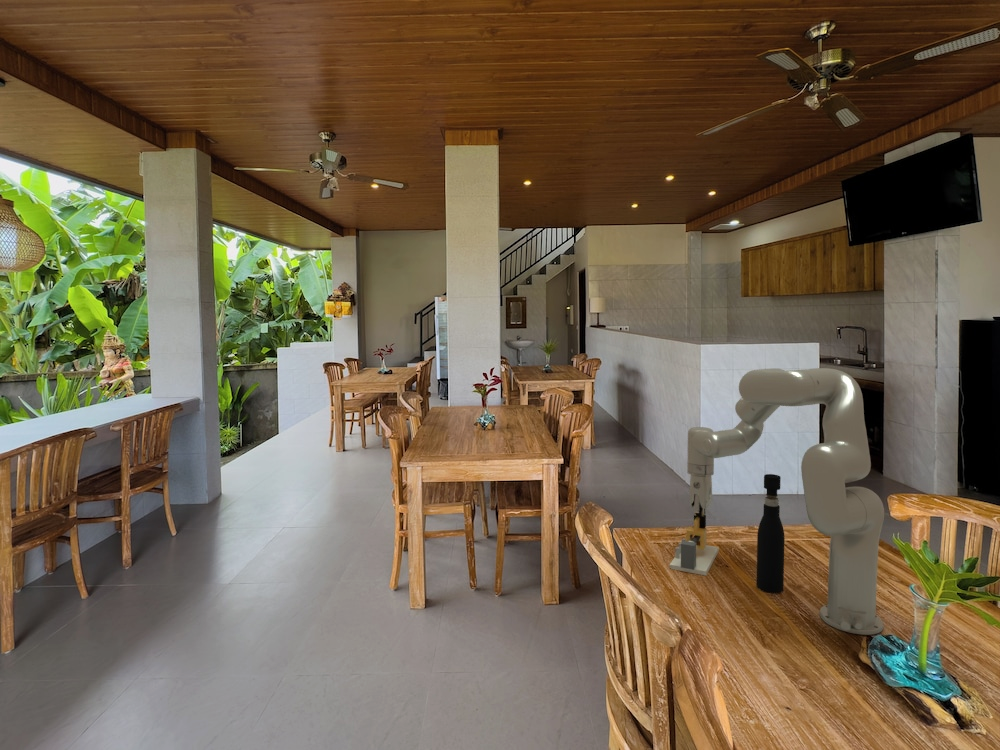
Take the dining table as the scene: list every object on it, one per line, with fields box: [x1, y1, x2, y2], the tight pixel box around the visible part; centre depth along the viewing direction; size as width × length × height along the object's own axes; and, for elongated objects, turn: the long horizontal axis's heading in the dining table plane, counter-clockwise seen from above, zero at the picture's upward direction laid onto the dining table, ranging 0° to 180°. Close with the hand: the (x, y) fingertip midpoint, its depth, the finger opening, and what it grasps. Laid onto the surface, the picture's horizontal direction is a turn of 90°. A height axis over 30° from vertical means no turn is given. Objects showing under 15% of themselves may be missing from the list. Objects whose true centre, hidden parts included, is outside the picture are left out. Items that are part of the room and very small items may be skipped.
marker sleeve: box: [685, 517, 708, 550], centre depth 172 cm, size 4×5×8 cm
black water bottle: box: [756, 473, 786, 594], centre depth 150 cm, size 6×6×30 cm
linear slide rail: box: [669, 527, 720, 577], centre depth 170 cm, size 20×10×8 cm, turn 150°
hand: (699, 527), depth 176 cm, fingers closed
